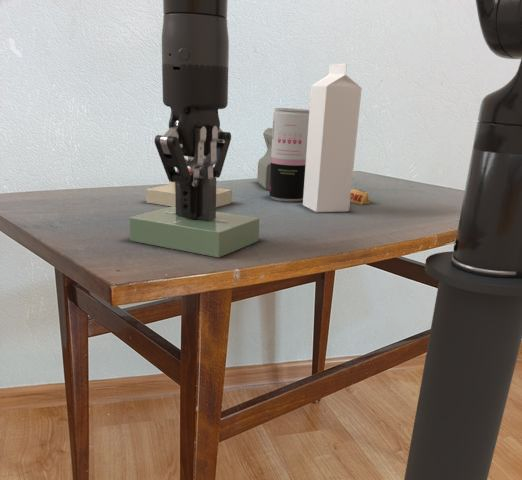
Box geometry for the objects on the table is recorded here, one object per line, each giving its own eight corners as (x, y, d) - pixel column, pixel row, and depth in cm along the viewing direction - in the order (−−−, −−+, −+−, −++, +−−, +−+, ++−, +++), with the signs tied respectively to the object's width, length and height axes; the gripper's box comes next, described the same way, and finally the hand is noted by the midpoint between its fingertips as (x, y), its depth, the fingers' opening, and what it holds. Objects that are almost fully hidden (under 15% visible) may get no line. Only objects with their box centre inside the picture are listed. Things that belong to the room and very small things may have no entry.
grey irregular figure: (303, 194, 112) (307, 134, 107) (256, 191, 112) (258, 132, 107) (299, 181, 127) (303, 128, 122) (257, 179, 127) (259, 126, 122)
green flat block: (258, 241, 77) (259, 216, 76) (218, 257, 69) (219, 231, 67) (176, 226, 82) (175, 203, 81) (130, 241, 74) (128, 215, 73)
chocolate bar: (360, 205, 105) (362, 193, 104) (317, 194, 114) (318, 182, 113) (371, 204, 106) (372, 192, 105) (327, 193, 115) (328, 181, 114)
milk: (316, 212, 96) (327, 62, 87) (302, 205, 101) (311, 62, 92) (349, 211, 98) (364, 64, 89) (334, 204, 103) (346, 64, 94)
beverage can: (274, 194, 110) (278, 107, 104) (308, 197, 109) (315, 109, 102) (265, 199, 104) (269, 108, 98) (301, 203, 103) (307, 110, 97)
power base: (231, 203, 100) (232, 178, 98) (202, 211, 93) (202, 185, 91) (177, 195, 105) (177, 172, 103) (146, 202, 97) (145, 177, 96)
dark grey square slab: (215, 218, 74) (216, 175, 72) (209, 220, 73) (209, 177, 70) (182, 213, 76) (182, 171, 74) (175, 215, 75) (174, 172, 72)
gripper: (200, 64, 74) (200, 204, 81) (130, 58, 63) (136, 220, 70) (253, 66, 71) (247, 211, 78) (189, 59, 60) (189, 229, 67)
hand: (195, 215), depth 74 cm, fingers closed, pressing on dark grey square slab
